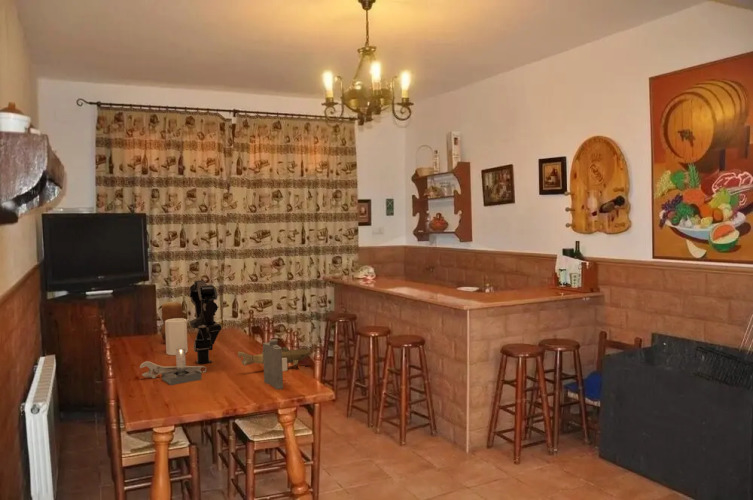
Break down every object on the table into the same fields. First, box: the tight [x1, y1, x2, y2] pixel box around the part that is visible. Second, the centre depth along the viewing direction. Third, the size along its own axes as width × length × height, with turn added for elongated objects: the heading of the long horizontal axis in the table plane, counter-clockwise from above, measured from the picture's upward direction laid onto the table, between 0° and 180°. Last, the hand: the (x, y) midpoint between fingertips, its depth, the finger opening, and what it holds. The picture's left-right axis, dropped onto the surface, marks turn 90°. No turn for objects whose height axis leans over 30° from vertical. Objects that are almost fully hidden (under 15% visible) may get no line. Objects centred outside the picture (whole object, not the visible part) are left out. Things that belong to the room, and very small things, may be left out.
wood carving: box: [237, 346, 311, 372], centre depth 285 cm, size 9×35×11 cm, turn 114°
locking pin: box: [175, 348, 187, 375], centre depth 272 cm, size 4×4×14 cm
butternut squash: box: [161, 301, 184, 342], centre depth 354 cm, size 14×13×25 cm
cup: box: [165, 317, 188, 356], centre depth 327 cm, size 11×11×18 cm
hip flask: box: [262, 338, 284, 390], centre depth 260 cm, size 16×4×20 cm, turn 33°
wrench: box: [139, 360, 207, 380], centre depth 280 cm, size 8×2×30 cm
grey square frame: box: [161, 368, 202, 386], centre depth 272 cm, size 12×14×3 cm
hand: (208, 343), depth 289 cm, fingers open, 9 cm apart
